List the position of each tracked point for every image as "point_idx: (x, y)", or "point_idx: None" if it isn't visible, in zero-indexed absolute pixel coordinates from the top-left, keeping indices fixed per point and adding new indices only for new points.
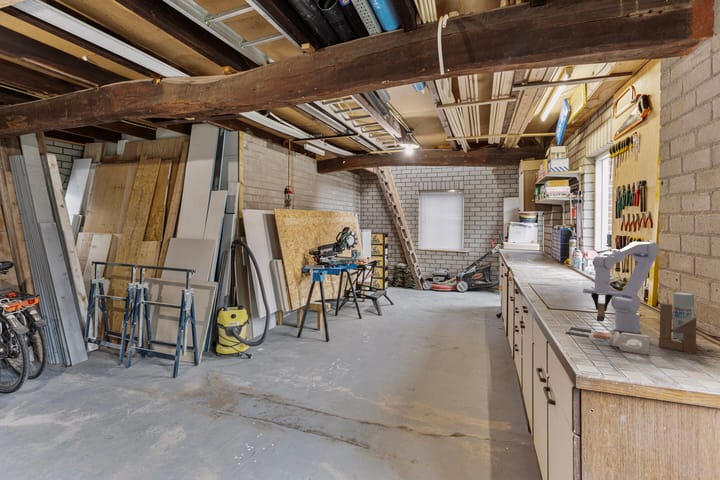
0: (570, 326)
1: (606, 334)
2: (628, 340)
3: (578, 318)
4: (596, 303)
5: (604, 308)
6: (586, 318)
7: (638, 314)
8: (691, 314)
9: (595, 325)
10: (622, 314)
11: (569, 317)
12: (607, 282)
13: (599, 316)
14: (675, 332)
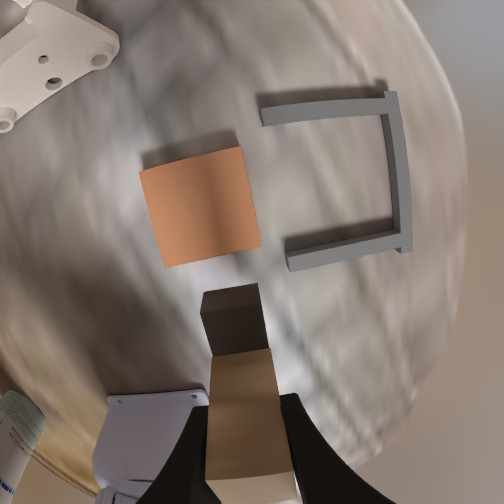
0: (405, 242)
1: (175, 220)
2: (12, 42)
3: (375, 433)
4: (309, 458)
5: (203, 428)
6: (347, 452)
7: (101, 483)
8: None
9: None
10: (156, 470)
11: (407, 418)
12: None
13: (248, 344)
14: (17, 414)
